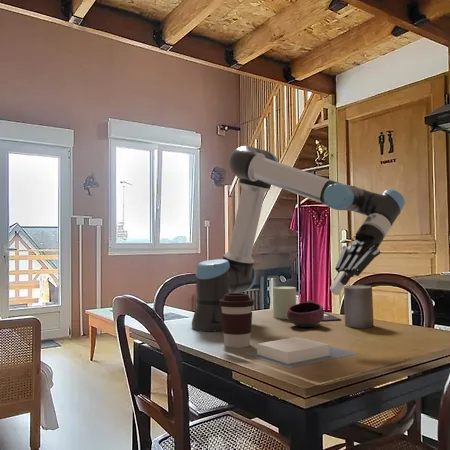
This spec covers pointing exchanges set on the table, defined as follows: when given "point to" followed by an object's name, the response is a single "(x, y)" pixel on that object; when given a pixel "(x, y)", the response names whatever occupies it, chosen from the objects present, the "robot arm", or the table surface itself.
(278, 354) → the tile
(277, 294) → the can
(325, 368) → the table surface
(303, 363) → the mat
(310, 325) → the bowl
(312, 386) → the table surface
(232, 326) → the coffee cup
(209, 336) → the table surface
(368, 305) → the pillar candle
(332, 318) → the chocolate bar
